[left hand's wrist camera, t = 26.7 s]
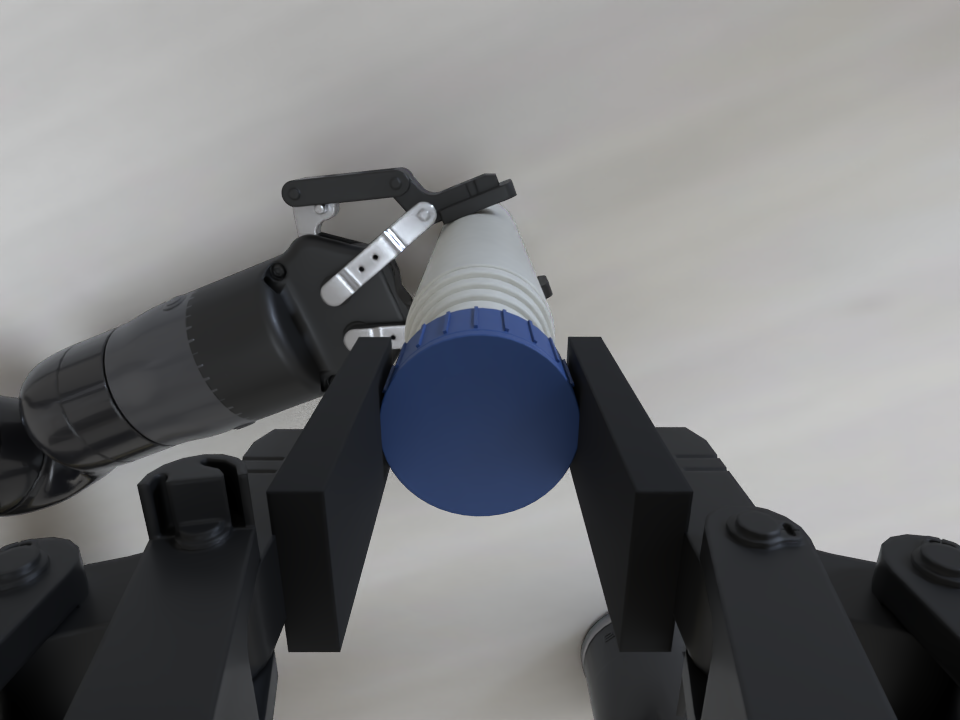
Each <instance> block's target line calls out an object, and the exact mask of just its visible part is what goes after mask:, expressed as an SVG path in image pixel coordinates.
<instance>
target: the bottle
mask: <svg viewBox="0 0 960 720" xmlns="http://www.w3.org/2000/svg"><path fill="white" fill-rule="evenodd" d="M474 306H478V308H489V309H497V310H501V311H502V310H503V309H505V310H506V311H507V312H509V313H511V314H514V315H517V316H519V317H521V318H523V319H525V320H527V321H528V320H531V321H532V323H533V325H534V326H536V327H537V328H539V329H540V330H541V331H542V332H543V333H544V334H545V335H546V336H547V337H548V338H549V337H551V338H552V339H553V342H554V345H555V328H554V321H553V317H552V314H551V311H550V308H549V306H548V303H547V301H546V298H545V296H544V293H543V291H542V288H541V286H540V283H539V281H538V279H537V276H536V274H535V271H534V269H533V266H532V264H531V261H530V259H529V256H528V254H527V251H526V249H525V246H524V244H523V241H522V239H521V237H520V234H519V232H518V229H517V227H516V224H515V222H514V220H513V218H512V216H511V215H510V213H509V212H508V211H507V210H506V209H505V208H504V207H503V206H501V205H500V204H498V203H497V204H495V205H493V206H490V207H488V208H485V209H483V210H480V211H478V212H475V213H473V214H470V215H468V216H465V217H462V218H460V219H458V220H455V221H453V222H450V223H448V224H445V225H444V226H443V228H442V231H441V233H440V236H439V238H438V241H437V243H436V246H435V248H434V250H433V253H432V255H431V258H430V260H429V263H428V265H427V268H426V270H425V273H424V275H423V278H422V280H421V282H420V285H419V287H418V290H417V292H416V295H415V297H414V300H413V302H412V305H411V307H410V310H409V313H408V316H407V319H406V325H405V342H406V343H408V341H409V340H410V339H411V338H412V337H413V336H414V335H415V333H416V332H417V331H419V330H420V329H421V326H422V325H423V324H424V323H425V324H428V323H429V322H431V321H433V320H434V319H436V318H438V317H441V316H443V315H445V314H446V312H448V311H450V313H451V312H454V311H458V310H463V309H470V308H474Z"/></svg>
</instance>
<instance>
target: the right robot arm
mask: <svg viewBox="0 0 960 720" xmlns="http://www.w3.org/2000/svg"><path fill="white" fill-rule="evenodd" d="M516 195H517V194H516V191H515V189H514V186H513V183H512V180H511V179H508V180H505V181H502V182H500V183H499V182H498V179H497V177H496V174H482V175H480V176H477V177H475V178H472V179H470V180H467V181H465V182H463V183H460V184H458V185H455V186H453V187H450V188H448V189H445V190H443V191H440V192H436V193H433V192H429V191H427V190H425V189H424V188H423V187H422V186H421V185H420V183H419V182H418V181H417V180H416V179H415V178H414V177H413V174H412V173H411V171H409V170H408V169H406V168H403V167H400V168H391V169H381V170H371V171H362V172H352V173H343V174H333V175H324V176H314V177H305V178H301V179H297V180H292V181H289V182H287V183H286V184H285V185H284V186H283V188H282V197H283V199H284V201H285V202H286V203H287V204H288V205H289V206H292V207H293V212H294V217H295V222H296V227H297V232H298V238H297V239H296V240H294V242H293V243H292V244H291V246H290V247H289V248H288V250H287V251H286V252H285V253H284V254H282V255H280V256H277V257H275V258H272V259H270V260H268V261H265V262H263V263H260V264H258V265H255V266H253V267H250V268H248V269H246V270H243V271H241V272H238V273H236V274H233V275H231V276H228V277H226V278H224V279H221V280H219V281H216V282H214V283H211V284H209V285H206V286H204V287H201V288H199V289H197V290H194V291H192V292H189V293H187V294H184V295H180V296H177V297H175V298H173V299H171V300H169V301H167V302H165V303H162V304H160V305H158V306H156V307H154V308H152V309H150V310H148V311H146V312H145V313H143V314H141V315H140V316H138V317H137V318H135V319H133V320H131V321H130V322H128V323H126V324H124V325H121V326H119V327H117V328H114V329H112V330H109V331H107V332H104V333H102V334H100V335H97V336H95V337H92V338H90V339H87V340H85V341H82V342H79V343H77V344H75V345H72V346H70V347H68V348H65V349H63V350H61V351H59V352H57V353H55V354H53V355H51V356H50V357H48V358H47V359H45V360H43V361H42V362H40V363H39V364H38V365H37V366H36V367H35V368H34V369H33V370H32V371H31V372H30V373H29V374H28V376H27V378H26V379H25V381H24V383H23V385H22V387H21V390H20V395H19V398H14V397H8V396H1V395H0V517H8V516H16V515H22V514H26V513H30V512H34V511H38V510H41V509H44V508H48V507H50V506H53V505H56V504H58V503H61V502H63V501H65V500H67V499H69V498H71V497H73V496H74V495H76V494H78V493H79V492H81V491H82V490H84V489H85V488H87V487H89V486H90V485H92V484H93V483H95V482H96V481H98V480H100V479H101V478H103V477H104V476H106V475H107V474H108V473H109V472H111V471H112V470H113V469H114V468H116V467H117V466H120V465H123V464H126V463H129V462H133V461H135V460H138V459H140V458H143V457H146V456H148V455H151V454H154V453H157V452H159V451H162V450H165V449H167V448H170V447H173V446H175V445H178V444H181V443H184V442H188V441H192V440H197V439H202V438H207V437H211V436H214V435H218V434H221V433H224V432H227V431H230V430H232V429H241V428H243V427H246V426H248V425H251V424H253V423H255V421H257V420H259V419H262V418H265V417H267V416H270V415H273V414H275V413H278V412H280V411H283V410H286V409H289V408H291V407H294V406H297V405H299V404H302V403H305V402H308V401H310V400H313V399H316V398H318V397H321V396H324V394H325V392H326V391H327V389H328V387H329V386H330V384H331V382H332V381H333V379H334V377H335V376H336V374H337V372H338V371H339V369H340V367H341V366H342V364H343V362H344V361H345V359H346V357H347V356H348V354H349V352H350V351H351V349H352V347H353V346H354V344H355V342H356V341H357V339H358V338H359V337H391V338H392V357H393V364H394V362H395V360H396V359H397V357H398V356H399V354H400V351H401V349H402V346H403V344H404V342H405V325H406V319H407V316H408V313H409V310H410V307H411V305H412V302H413V299H412V297H411V296H410V295H409V293H408V292H407V291H406V290H405V288H404V287H403V286H402V283H401V277H400V271H399V268H398V265H397V263H396V261H395V259H394V258H395V257H396V256H398V255H399V254H400V253H401V252H402V251H403V250H404V249H405V248H406V247H407V246H408V245H409V244H411V243H412V242H413V241H414V240H415V239H416V238H418V237H419V236H420V235H421V234H422V233H424V232H425V231H426V230H427V229H428V228H429V227H431V226H432V225H433V224H435V223H437V222H440V221H443V223H444V225H445V224H448V223H450V222H453V221H455V220H458V219H460V218H462V217H465V216H468V215H470V214H473V213H475V212H478V211H480V210H483V209H485V208H488V207H490V206H493V205H495V204H497V203H500V202H502V201H505V200H507V199H510V198H512V197H514V196H516ZM391 197H393V198H394V199H395V200H396V201H397V202H398V203H399V204H400V205H401V206H402V208H403V209H404V210H405V211H406V213H405V214H403V215H402V216H401V217H400V218H399V219H398V220H397V221H395V222H394V223H393V224H392V225H391V226H389V227H388V228H387V229H386V230H385V231H384V232H383V233H381V234H380V235H379V236H378V237H377V238H376V239H375V240H373V241H372V242H371V243H370V244H366V243H362V242H358V241H354V240H350V239H346V238H342V237H338V236H335V235H331V234H327V233H323V232H321V225H322V223H323V222H324V221H325V220H328V219H330V218H332V217H334V216H335V215H336V214H337V213H338V211H339V207H340V206H339V203H343V202H352V201H362V200H372V199H381V198H391ZM537 279H538V281H539V283H540V286H541V288H542V291H543V293H544V296H545V298H546V299H547V298H549V297H550V296H552V291H551V288H550V285H549V282H548V280H547V278H546V276H545V275H543V276H538V277H537ZM685 652H686V646H685V644H684V641H683V639H682V636H681V634H680V631H679V629H678V626H677V624H676V621H675V628H674V635H673V642H672V649H671V652H619V648H618V645H617V641H616V637H615V633H614V630H613V626H612V622H611V619H610V615H609V614H607V615H606V616H604V617H603V618H601V619H600V620H599V621H598V622H597V623H596V624H595V625H594V626H593V627H592V628H591V629H590V630H589V632H588V633H587V635H586V637H585V639H584V641H583V644H582V649H581V661H582V666H583V671H584V674H585V677H586V679H587V684H588V690H589V695H590V700H591V706H592V711H593V717H594V720H687V712H686V710H685V715H684V717H678V716H676V712H677V705H678V698H679V691H680V685H681V678H682V671H683V665H684V658H685Z"/></svg>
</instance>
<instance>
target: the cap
mask: <svg viewBox="0 0 960 720" xmlns="http://www.w3.org/2000/svg"><path fill="white" fill-rule="evenodd" d="M574 386H575V384H574V382H573V379H572V377H571V374H570V371H569V369H568V366H567V363H566V361H565V359H563V360H562V359H561V356H560V354H559V352H558V351H557V349H556V347H555V345H554V342H553V339H552V338H551V337H549V338H548V337H547V336H546V335H545V334H544V333H543V332H542V331H541V330H540V329H539V328H537V327H536V326H534V325H533V323H532V321H531V320H528V321H527V320H525V319H523V318H521V317H519V316H517V315H514V314H511V313H509V312H507V311H506V310H505V309H503V310H502V311H501V310H497V309H489V308H478V306H474V308H470V309H463V310H458V311H454V312H451V313H450V311H448V312H446V314H445V315H443V316H441V317H438V318H436V319H434V320H433V321H431V322H429V323H428V324H425V323H424V324H423V325H422V326H421V329H420V330H419V331H417V332H416V333H415V335H414V336H413V337H412V338H411V339H410V340H409V341H408V343H406V342H404V344H403V346H402V349H401V351H400V354H399V357H398V359H397V362H396V365H395V366H394V365H392V367H391V370H390V373H389V375H388V378H387V381H386V383H385V386H384V388H383V391H382V393H385V394H384V397H383V400H382V403H381V408H380V422H381V438H382V450H383V453H384V455H385V458H386V460H387V462H388V464H389V466H390V468H391V469H392V471H393V473H394V474H395V475H396V476H397V478H398V479H399V480H400V482H401V483H402V484H403V485H404V486H405V487H406V488H407V489H408V490H409V491H411V492H412V493H413V494H414V495H416V496H417V497H418V498H420V499H422V500H423V501H425V502H427V503H428V504H430V505H432V506H435V507H437V508H439V509H442V510H445V511H448V512H451V513H456V514H461V515H468V516H492V515H499V514H504V513H508V512H512V511H515V510H517V509H520V508H523V507H525V506H527V505H529V504H531V503H533V502H535V501H536V500H538V499H539V498H541V497H542V496H544V495H545V494H546V493H548V492H549V491H550V490H551V489H552V488H553V487H554V486H555V485H556V484H557V483H558V482H559V481H560V480H561V478H562V477H563V476H564V474H565V473H566V471H567V470H568V468H569V467H570V465H571V463H572V461H573V459H574V457H575V454H576V451H577V447H578V432H579V415H580V410H579V406H578V402H577V398H576V396H575V393H574V390H573V387H574Z"/></svg>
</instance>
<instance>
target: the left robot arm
mask: <svg viewBox="0 0 960 720" xmlns="http://www.w3.org/2000/svg"><path fill="white" fill-rule="evenodd" d="M392 365H393V357H392V338H391V337H359V338H358V339H357V341H356V342H355V344H354V346H353V347H352V349H351V351H350V352H349V354H348V356H347V357H346V359H345V361H344V362H343V364H342V366H341V367H340V369H339V371H338V372H337V374H336V376H335V377H334V379H333V381H332V382H331V384H330V386H329V387H328V389H327V391H326V392H325V394H324V396H323V397H322V399H321V401H320V402H319V404H318V406H317V407H316V409H315V411H314V412H313V414H312V416H311V417H310V419H309V421H308V422H307V424H306V426H305V427H304V429H274V430H272V431H271V432H269V433H268V434H266V435H265V436H263V437H261V438H260V439H258V440H257V441H255V442H254V443H253V444H252V445H251V447H250V448H249V449H248V451H247V452H246V454H245V455H244V456H243V460H240V459H239V458H236V457H232V456H228V455H224V454H204V455H198V456H192V457H187V458H182V459H179V460H176V461H174V462H171V463H168V464H165V465H163V466H161V467H159V468H157V469H156V470H154V471H152V472H150V473H149V474H147V475H146V476H145V477H144V478H143V479H142V480H141V481H140V482H139V483H138V485H137V487H138V491H139V495H140V500H141V504H142V509H143V513H144V518H145V522H146V527H147V531H148V536H149V542H148V544H147V546H146V548H145V550H144V552H143V553H140V554H136V555H132V556H128V557H123V558H118V559H113V560H108V561H103V562H98V563H92V564H87V565H83V561H82V558H81V554H80V550H79V547H78V546H77V545H75V544H74V543H73V542H72V541H70V540H67V539H62V538H56V537H49V538H39V539H29V540H24V541H21V542H19V543H18V542H16V543H12V544H9V545H6V546H4V547H2V548H1V549H0V720H273V714H274V705H275V697H276V689H277V681H278V672H277V665H276V658H275V652H274V648H275V646H276V643H277V641H278V638H279V636H280V633H281V631H282V628H283V626H284V624H285V631H286V638H287V645H288V652H340V650H341V647H342V643H343V639H344V636H345V632H346V628H347V625H348V621H349V617H350V613H351V610H352V606H353V602H354V599H355V595H356V591H357V588H358V584H359V580H360V576H361V573H362V569H363V565H364V562H365V558H366V554H367V551H368V547H369V543H370V539H371V536H372V532H373V528H374V525H375V521H376V517H377V514H378V510H379V506H380V502H381V499H382V495H383V491H384V488H385V484H386V480H387V477H388V473H389V469H390V466H389V464H388V462H387V460H386V458H385V455H384V453H383V450H382V438H381V422H380V408H381V403H382V400H383V397H384V394H385V393H382V391H383V388H384V386H385V383H386V381H387V378H388V375H389V373H390V370H391V367H392ZM567 366H568V369H569V371H570V374H571V377H572V379H573V382H574V384H575V386H574V387H573V390H574V393H575V396H576V398H577V402H578V406H579V410H580V415H579V432H578V447H577V451H576V454H575V457H574V459H573V461H572V463H571V465H570V470H571V474H572V478H573V482H574V485H575V489H576V493H577V496H578V500H579V504H580V508H581V511H582V515H583V519H584V522H585V526H586V530H587V533H588V537H589V541H590V545H591V548H592V552H593V556H594V559H595V563H596V567H597V570H598V574H599V578H600V582H601V585H602V589H603V593H604V596H605V600H606V604H607V608H608V611H609V615H610V619H611V622H612V626H613V630H614V633H615V637H616V641H617V645H618V648H619V652H671V649H672V642H673V635H674V628H675V621H676V624H677V626H678V629H679V631H680V634H681V636H682V639H683V641H684V644H685V646H686V652H685V658H684V665H683V671H682V678H681V685H680V691H679V698H678V705H677V712H676V716H678V717H684V715H685V710H686V712H687V720H960V546H959V545H958V544H956V543H954V542H951V541H948V540H945V539H942V540H941V539H939V538H936V537H931V536H920V535H909V534H905V535H900V536H894V537H890V538H889V539H888V540H886V541H885V542H884V543H883V544H882V545H881V549H880V552H879V556H878V560H877V563H876V562H871V561H866V560H861V559H856V558H851V557H846V556H841V555H836V554H831V553H827V552H823V551H819V550H816V549H815V547H814V545H813V543H812V541H811V539H810V538H809V536H808V535H807V534H806V533H805V531H804V530H803V529H802V528H801V527H800V526H799V525H797V524H796V523H794V522H793V521H791V520H790V519H788V518H787V517H785V516H783V515H780V514H778V513H775V512H773V511H770V510H768V509H764V508H759V507H755V505H754V504H753V503H752V501H751V500H750V499H749V497H748V496H747V495H746V493H745V492H744V491H743V489H742V488H741V487H740V485H739V484H738V483H737V481H736V480H735V479H734V477H733V476H732V474H731V473H730V472H729V471H727V470H726V466H725V465H724V464H723V462H722V461H721V460H720V458H717V454H716V453H715V452H714V450H713V449H712V448H711V446H710V445H709V444H708V442H707V441H706V440H705V439H703V438H702V437H700V436H699V435H697V434H695V433H694V432H692V431H691V430H689V429H687V428H686V427H655V426H654V425H653V423H652V421H651V420H650V418H649V416H648V415H647V413H646V411H645V410H644V408H643V406H642V405H641V403H640V401H639V400H638V398H637V396H636V395H635V393H634V391H633V390H632V388H631V386H630V385H629V383H628V381H627V380H626V378H625V376H624V375H623V373H622V371H621V370H620V368H619V366H618V365H617V363H616V361H615V360H614V358H613V356H612V355H611V353H610V351H609V350H608V348H607V346H606V345H605V343H604V341H603V340H602V338H601V337H568V350H567Z"/></svg>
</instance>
